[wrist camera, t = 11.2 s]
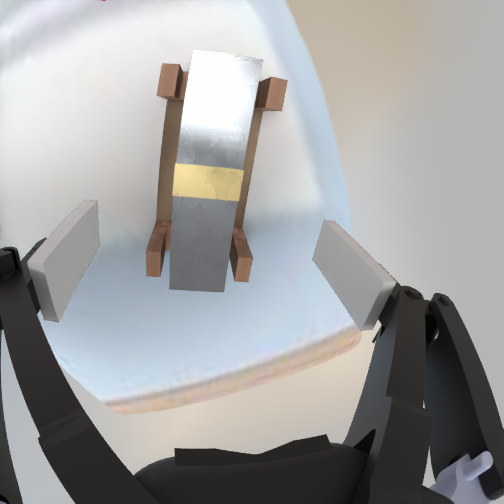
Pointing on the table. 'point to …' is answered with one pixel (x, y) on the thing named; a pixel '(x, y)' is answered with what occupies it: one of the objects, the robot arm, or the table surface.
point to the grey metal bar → (210, 167)
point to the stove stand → (175, 91)
